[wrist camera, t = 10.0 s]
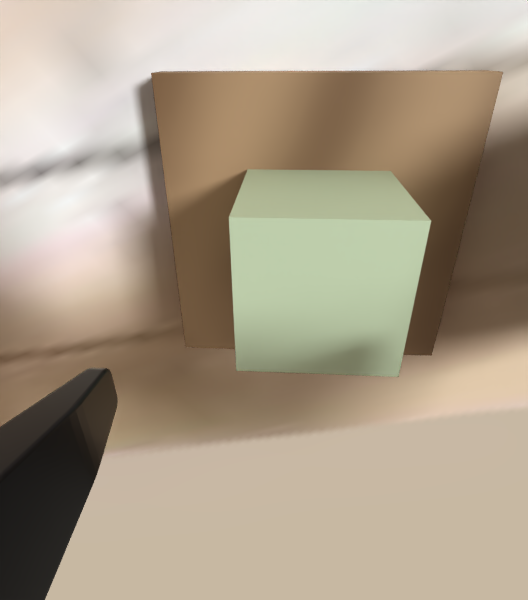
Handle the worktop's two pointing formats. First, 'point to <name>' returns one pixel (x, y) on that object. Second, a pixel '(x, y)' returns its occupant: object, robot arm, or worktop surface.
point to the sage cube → (324, 271)
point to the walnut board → (315, 165)
